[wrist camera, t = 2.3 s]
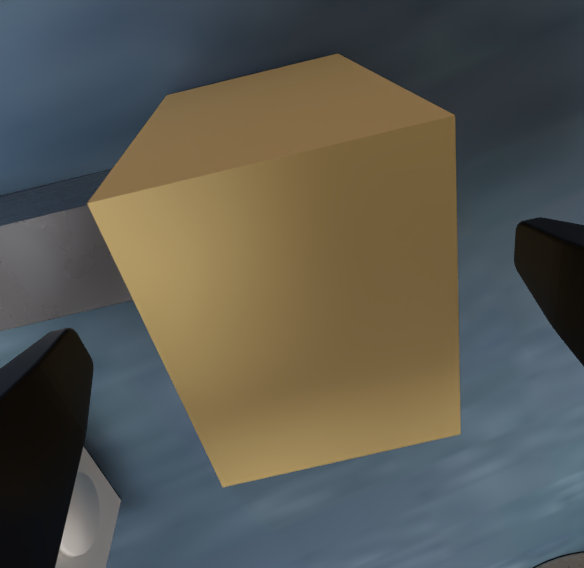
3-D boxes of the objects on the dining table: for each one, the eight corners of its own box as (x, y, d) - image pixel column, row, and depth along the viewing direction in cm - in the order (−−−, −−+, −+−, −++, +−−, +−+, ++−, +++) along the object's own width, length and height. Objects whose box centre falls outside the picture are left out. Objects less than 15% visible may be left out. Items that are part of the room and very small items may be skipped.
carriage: (365, 248, 16) (460, 434, 9) (228, 280, 17) (222, 487, 10) (337, 53, 13) (454, 115, 6) (166, 95, 13) (87, 203, 6)
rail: (372, 199, 16) (397, 238, 13) (-78, 305, 16) (-137, 363, 14) (361, 108, 14) (388, 133, 12) (-138, 229, 15) (-218, 278, 12)
